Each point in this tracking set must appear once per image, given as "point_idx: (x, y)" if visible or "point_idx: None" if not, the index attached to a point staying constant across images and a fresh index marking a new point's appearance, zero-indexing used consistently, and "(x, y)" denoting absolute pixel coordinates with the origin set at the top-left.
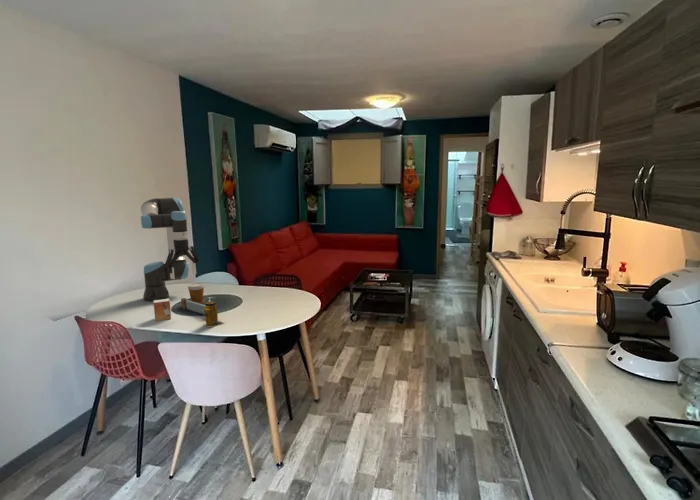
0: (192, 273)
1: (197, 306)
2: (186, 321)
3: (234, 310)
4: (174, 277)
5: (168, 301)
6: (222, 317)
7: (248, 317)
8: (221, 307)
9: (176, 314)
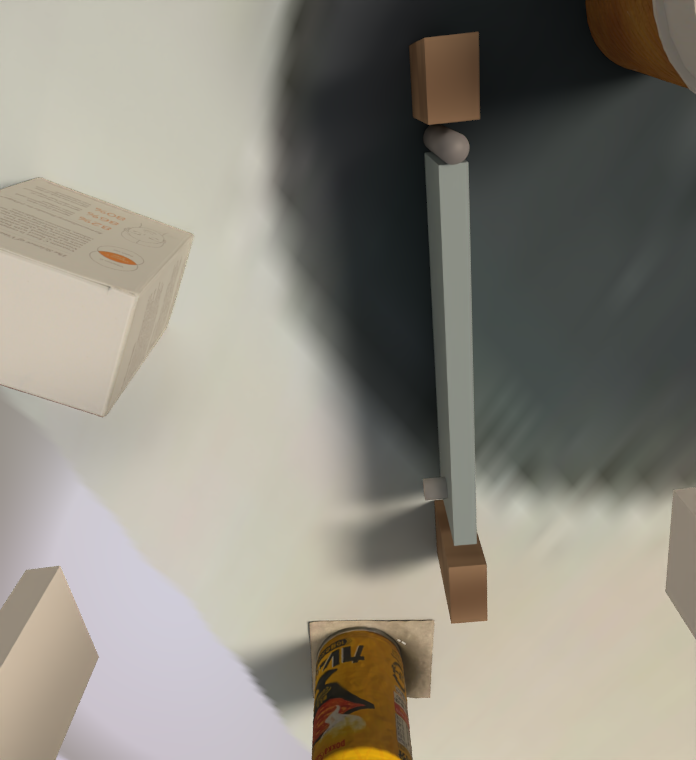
0: (677, 506)
1: (444, 393)
2: (249, 483)
3: None
4: (83, 687)
5: (91, 413)
6: (498, 598)
7: (609, 712)
8: (689, 375)
9: (264, 227)
